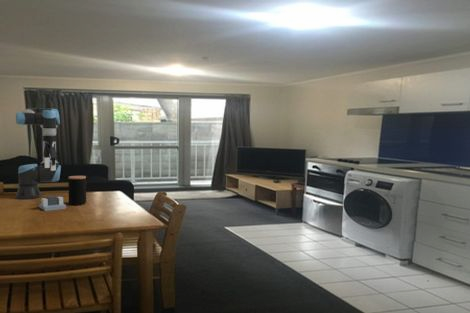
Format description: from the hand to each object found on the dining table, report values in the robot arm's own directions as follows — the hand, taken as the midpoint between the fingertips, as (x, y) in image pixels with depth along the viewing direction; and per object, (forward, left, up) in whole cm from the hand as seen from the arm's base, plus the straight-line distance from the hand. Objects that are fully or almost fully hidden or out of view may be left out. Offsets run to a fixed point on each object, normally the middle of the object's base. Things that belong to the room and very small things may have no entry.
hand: (50, 169), depth 232 cm
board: (+5, 0, -24) cm, 24 cm away
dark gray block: (+5, 0, -22) cm, 22 cm away
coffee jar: (+2, +16, -24) cm, 29 cm away
